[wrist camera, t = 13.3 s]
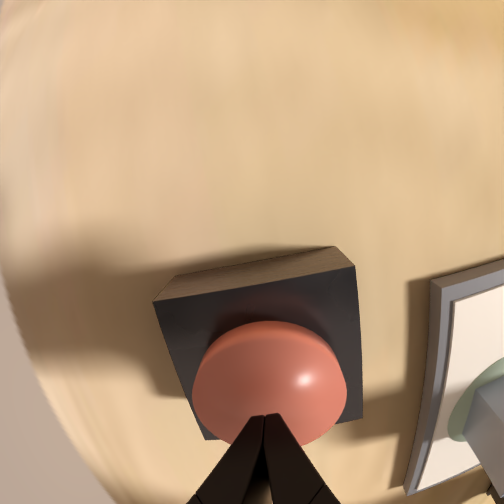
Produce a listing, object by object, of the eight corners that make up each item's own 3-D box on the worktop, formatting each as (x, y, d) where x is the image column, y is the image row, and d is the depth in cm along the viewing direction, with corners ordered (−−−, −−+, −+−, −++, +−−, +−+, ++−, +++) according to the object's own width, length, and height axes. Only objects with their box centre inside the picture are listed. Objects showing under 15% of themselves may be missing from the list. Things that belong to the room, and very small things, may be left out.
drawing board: (548, 243, 12) (563, 249, 11) (499, 442, 16) (507, 452, 15) (429, 279, 13) (444, 290, 11) (402, 485, 17) (407, 499, 15)
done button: (319, 280, 12) (342, 324, 8) (331, 379, 13) (348, 438, 9) (197, 302, 13) (171, 350, 9) (226, 396, 14) (215, 456, 10)
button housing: (335, 246, 13) (355, 265, 10) (348, 379, 14) (362, 417, 11) (175, 276, 13) (152, 301, 10) (214, 400, 15) (205, 440, 12)
